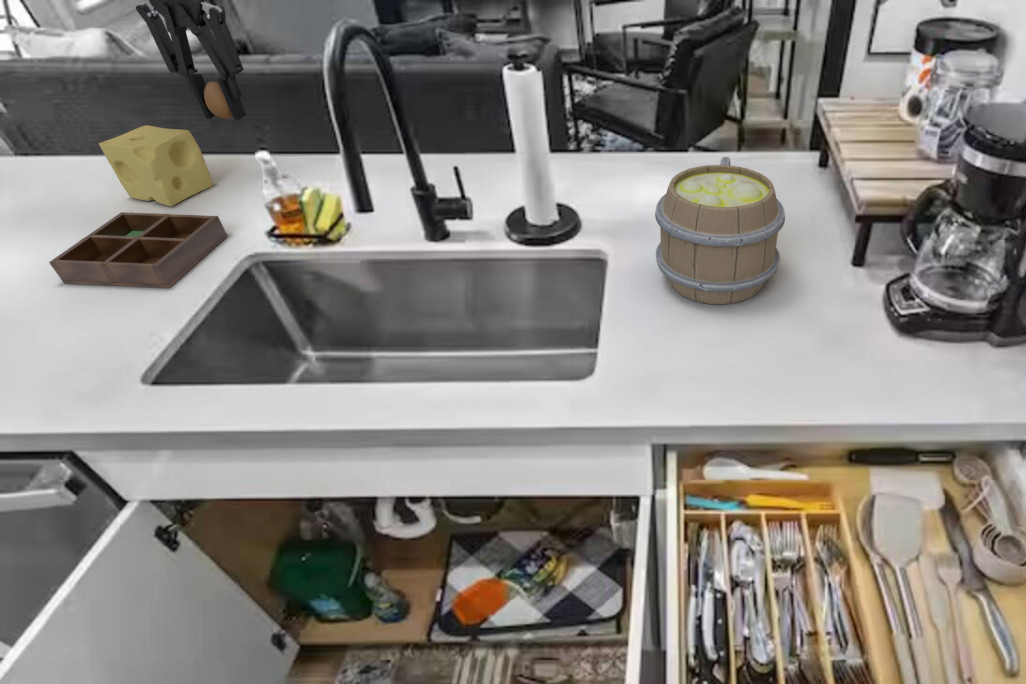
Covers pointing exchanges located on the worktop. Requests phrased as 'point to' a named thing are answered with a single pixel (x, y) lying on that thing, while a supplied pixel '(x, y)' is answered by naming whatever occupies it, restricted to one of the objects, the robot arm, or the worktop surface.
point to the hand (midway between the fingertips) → (226, 116)
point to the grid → (140, 250)
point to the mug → (719, 233)
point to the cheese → (158, 164)
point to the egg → (216, 100)
